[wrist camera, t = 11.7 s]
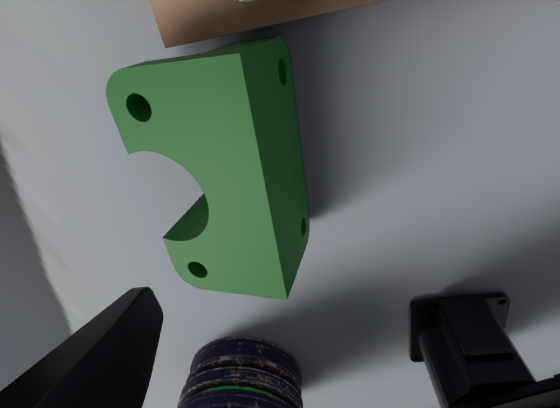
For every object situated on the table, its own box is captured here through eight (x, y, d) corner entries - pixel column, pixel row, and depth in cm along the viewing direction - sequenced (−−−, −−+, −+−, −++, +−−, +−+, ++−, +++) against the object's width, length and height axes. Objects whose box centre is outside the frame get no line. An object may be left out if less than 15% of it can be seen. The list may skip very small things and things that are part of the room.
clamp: (214, 74, 21) (89, 22, 12) (307, 64, 19) (237, -7, 10) (223, 260, 23) (120, 326, 14) (309, 268, 21) (250, 350, 12)
